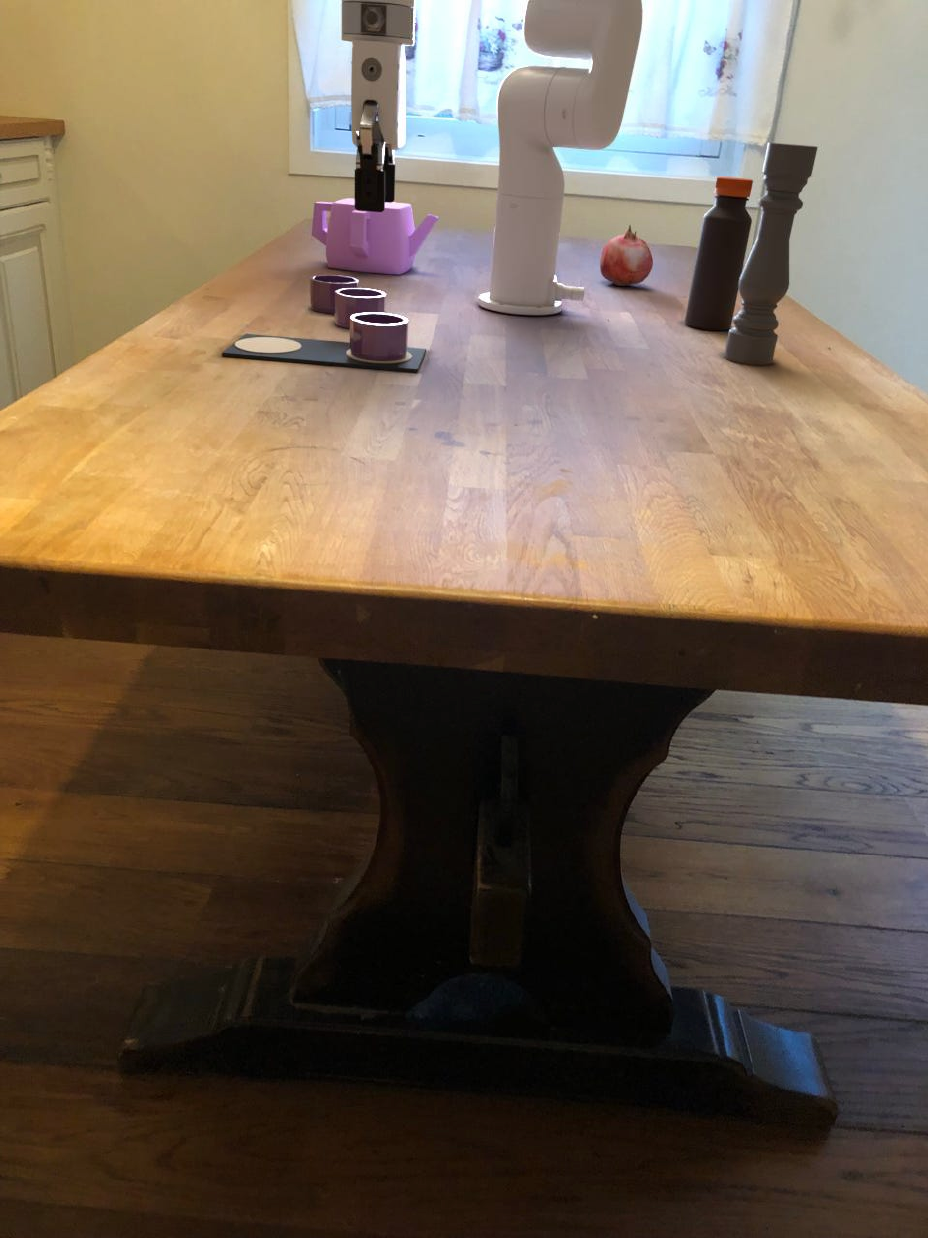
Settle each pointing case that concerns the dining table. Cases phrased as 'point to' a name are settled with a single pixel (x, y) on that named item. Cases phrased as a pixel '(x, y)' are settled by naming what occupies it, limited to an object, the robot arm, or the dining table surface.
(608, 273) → the fruit
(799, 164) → the candle holder
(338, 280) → the purple cup
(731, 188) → the bottle
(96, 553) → the dining table surface
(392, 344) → the dish
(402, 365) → the mat
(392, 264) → the teakettle
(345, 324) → the dish
